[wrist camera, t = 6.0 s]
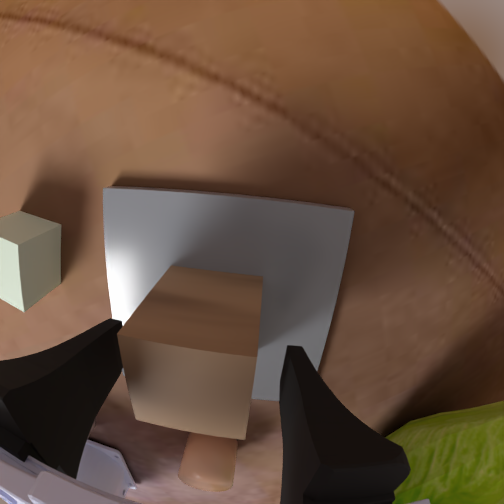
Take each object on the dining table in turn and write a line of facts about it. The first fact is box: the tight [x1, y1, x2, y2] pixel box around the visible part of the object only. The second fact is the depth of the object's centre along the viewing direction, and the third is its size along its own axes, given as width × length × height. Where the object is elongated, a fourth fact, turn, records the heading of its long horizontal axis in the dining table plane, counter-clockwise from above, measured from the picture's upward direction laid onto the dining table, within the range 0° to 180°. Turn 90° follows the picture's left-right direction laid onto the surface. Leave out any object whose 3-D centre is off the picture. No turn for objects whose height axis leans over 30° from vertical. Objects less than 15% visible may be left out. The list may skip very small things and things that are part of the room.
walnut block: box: [117, 266, 263, 440], centre depth 12 cm, size 4×4×6 cm
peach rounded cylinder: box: [178, 432, 238, 492], centre depth 18 cm, size 4×4×4 cm
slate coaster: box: [103, 186, 355, 401], centre depth 15 cm, size 12×12×1 cm
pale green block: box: [0, 211, 61, 312], centre depth 14 cm, size 4×4×4 cm
